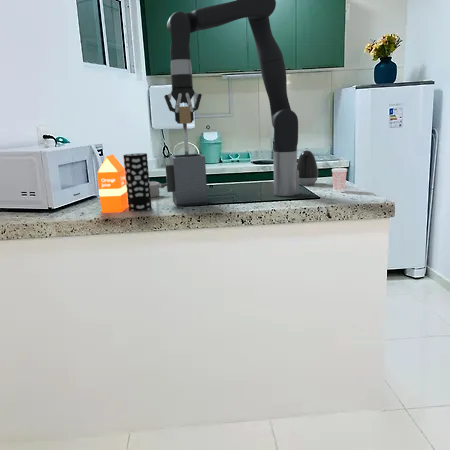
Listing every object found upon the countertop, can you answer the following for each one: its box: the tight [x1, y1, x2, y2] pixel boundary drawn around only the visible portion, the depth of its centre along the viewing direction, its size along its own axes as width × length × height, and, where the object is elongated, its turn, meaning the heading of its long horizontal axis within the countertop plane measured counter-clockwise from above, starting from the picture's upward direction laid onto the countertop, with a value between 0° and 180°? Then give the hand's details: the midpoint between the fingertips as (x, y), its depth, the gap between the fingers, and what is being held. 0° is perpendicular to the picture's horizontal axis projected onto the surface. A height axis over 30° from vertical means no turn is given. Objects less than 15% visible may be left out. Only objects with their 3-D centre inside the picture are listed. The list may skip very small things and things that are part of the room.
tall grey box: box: [164, 153, 208, 208], centre depth 168 cm, size 14×12×18 cm
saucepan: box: [149, 181, 167, 199], centre depth 188 cm, size 12×20×6 cm, turn 98°
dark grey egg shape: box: [297, 150, 319, 186], centre depth 198 cm, size 10×10×15 cm
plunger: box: [178, 106, 192, 157], centre depth 165 cm, size 9×9×25 cm
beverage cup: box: [331, 156, 348, 193], centre depth 179 cm, size 6×6×14 cm
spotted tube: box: [122, 152, 152, 212], centre depth 161 cm, size 8×8×20 cm
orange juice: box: [96, 154, 129, 214], centre depth 162 cm, size 8×9×20 cm
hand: (184, 122), depth 163 cm, fingers closed on plunger, 4 cm apart
